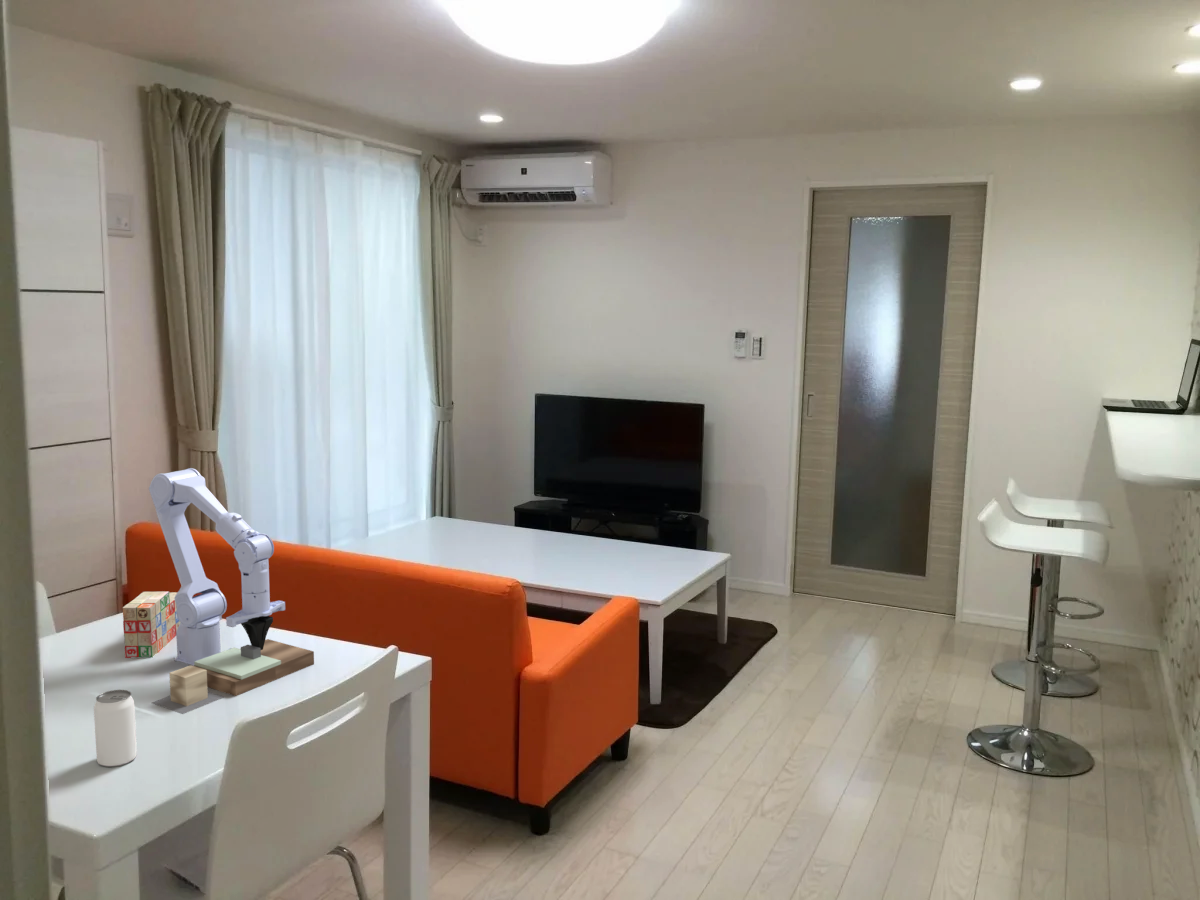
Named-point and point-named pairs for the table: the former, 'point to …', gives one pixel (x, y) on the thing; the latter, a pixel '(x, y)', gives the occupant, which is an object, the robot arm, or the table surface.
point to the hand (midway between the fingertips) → (257, 649)
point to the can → (115, 728)
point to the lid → (238, 662)
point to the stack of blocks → (149, 623)
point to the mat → (183, 709)
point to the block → (188, 685)
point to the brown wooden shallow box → (290, 663)
